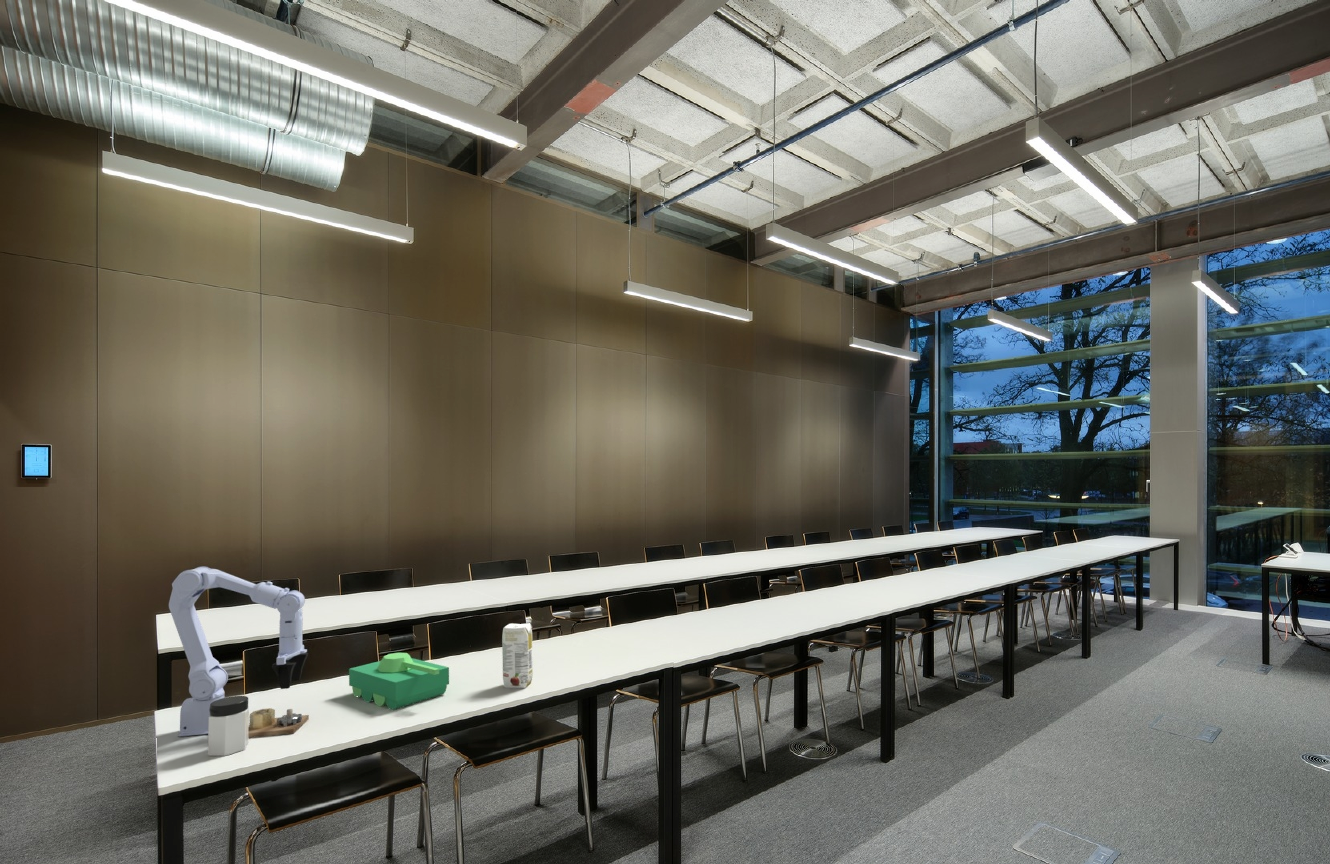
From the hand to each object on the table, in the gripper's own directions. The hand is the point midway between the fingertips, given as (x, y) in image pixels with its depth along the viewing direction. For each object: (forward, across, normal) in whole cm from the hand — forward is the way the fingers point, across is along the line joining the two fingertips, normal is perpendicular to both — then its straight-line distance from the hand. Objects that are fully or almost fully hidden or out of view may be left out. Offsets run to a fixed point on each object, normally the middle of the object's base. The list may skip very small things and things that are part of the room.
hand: (290, 684), depth 185 cm
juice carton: (+10, +15, -62) cm, 65 cm away
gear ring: (+9, -6, +5) cm, 12 cm away
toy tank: (+10, +13, -28) cm, 33 cm away
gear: (+9, -6, -2) cm, 11 cm away
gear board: (+10, -6, +2) cm, 12 cm away
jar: (+10, -19, +7) cm, 23 cm away
